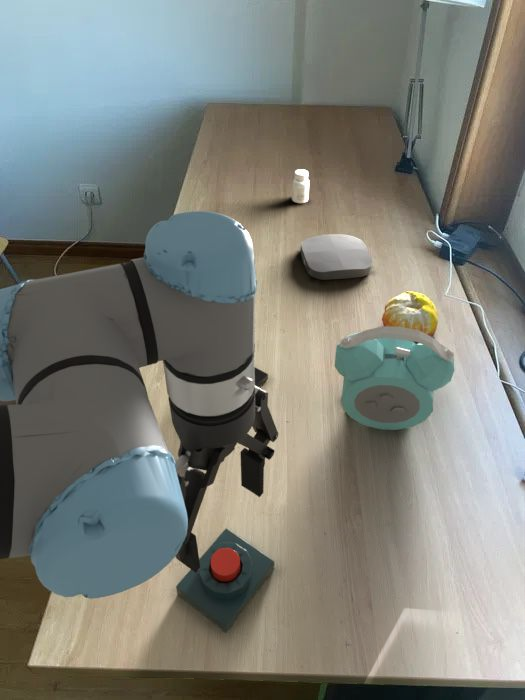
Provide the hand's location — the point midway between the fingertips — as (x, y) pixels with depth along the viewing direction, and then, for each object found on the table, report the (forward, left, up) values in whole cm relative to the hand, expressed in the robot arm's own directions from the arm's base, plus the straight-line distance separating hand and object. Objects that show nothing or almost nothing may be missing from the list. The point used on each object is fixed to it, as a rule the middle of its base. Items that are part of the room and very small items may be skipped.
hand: (222, 524), depth 63 cm
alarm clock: (+36, +10, -14) cm, 40 cm away
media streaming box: (+59, +50, -14) cm, 79 cm away
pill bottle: (+70, +78, -14) cm, 106 cm away
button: (0, 0, -10) cm, 10 cm away
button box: (0, 0, -14) cm, 14 cm away
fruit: (+56, +24, -14) cm, 63 cm away
